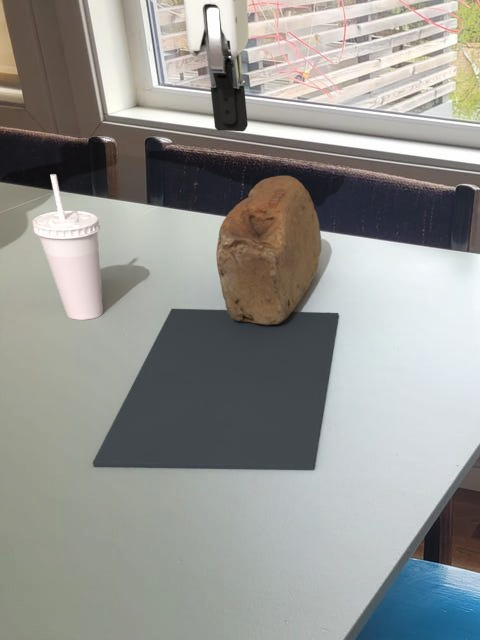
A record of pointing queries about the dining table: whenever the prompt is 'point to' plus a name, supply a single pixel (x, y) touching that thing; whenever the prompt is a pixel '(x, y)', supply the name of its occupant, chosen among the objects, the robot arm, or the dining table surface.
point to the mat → (226, 394)
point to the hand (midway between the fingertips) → (231, 128)
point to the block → (268, 251)
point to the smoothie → (72, 257)
